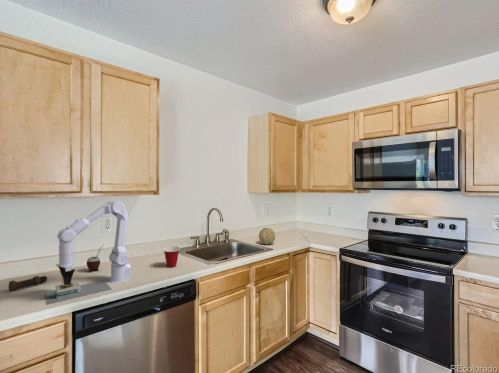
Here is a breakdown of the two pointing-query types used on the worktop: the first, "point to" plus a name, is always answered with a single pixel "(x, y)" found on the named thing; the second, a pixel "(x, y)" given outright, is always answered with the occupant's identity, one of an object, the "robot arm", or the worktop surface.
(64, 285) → the pin
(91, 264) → the mate gourd
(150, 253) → the worktop surface
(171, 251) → the plastic cup
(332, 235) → the worktop surface
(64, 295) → the grey teal hollow block
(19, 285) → the bolt
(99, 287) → the mat
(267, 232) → the cantaloupe
